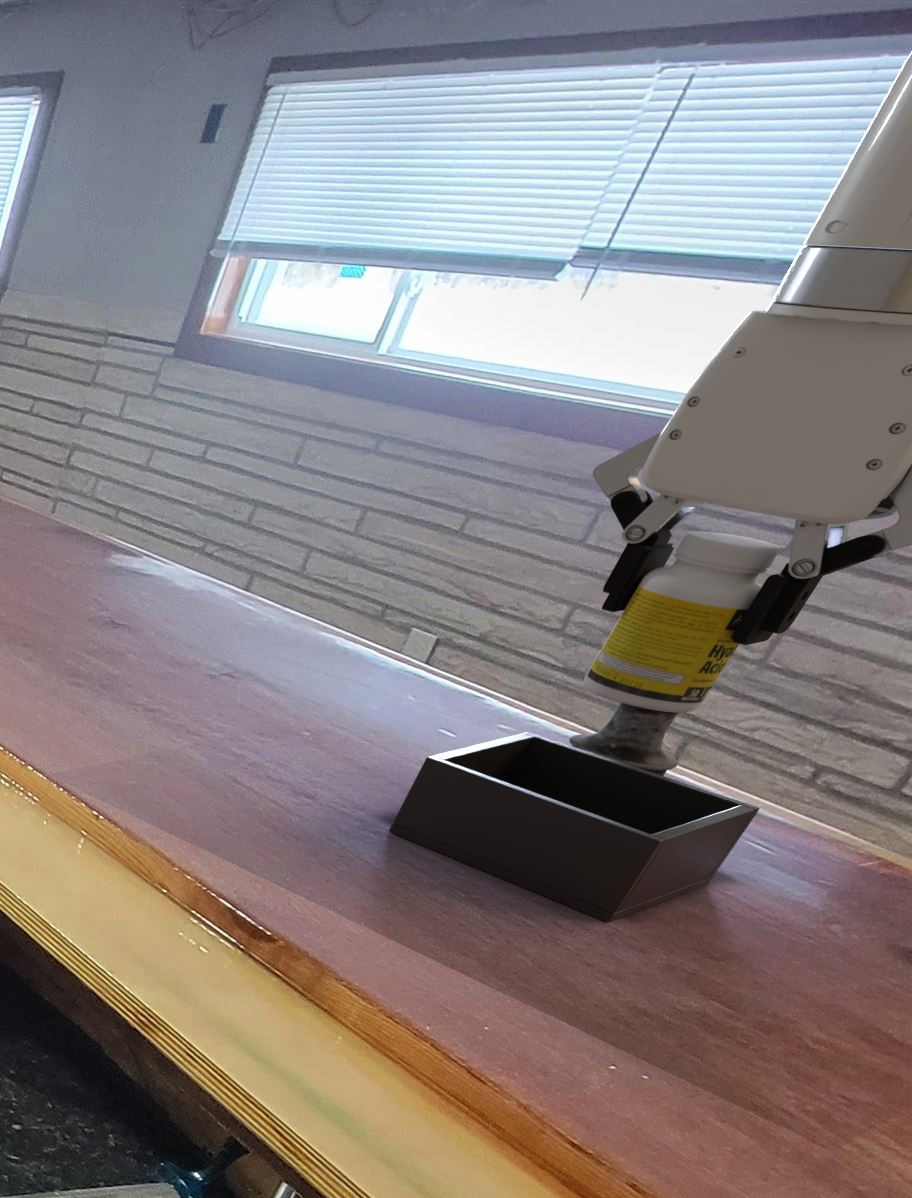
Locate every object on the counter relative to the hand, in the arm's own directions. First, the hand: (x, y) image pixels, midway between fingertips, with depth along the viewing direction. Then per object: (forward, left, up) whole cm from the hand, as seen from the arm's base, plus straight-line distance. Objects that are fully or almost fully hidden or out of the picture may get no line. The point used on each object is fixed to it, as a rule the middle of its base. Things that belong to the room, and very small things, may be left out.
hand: (683, 621), depth 72 cm
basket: (0, 0, -16) cm, 16 cm away
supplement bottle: (0, 0, -5) cm, 5 cm away
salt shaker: (-16, -4, -16) cm, 23 cm away
